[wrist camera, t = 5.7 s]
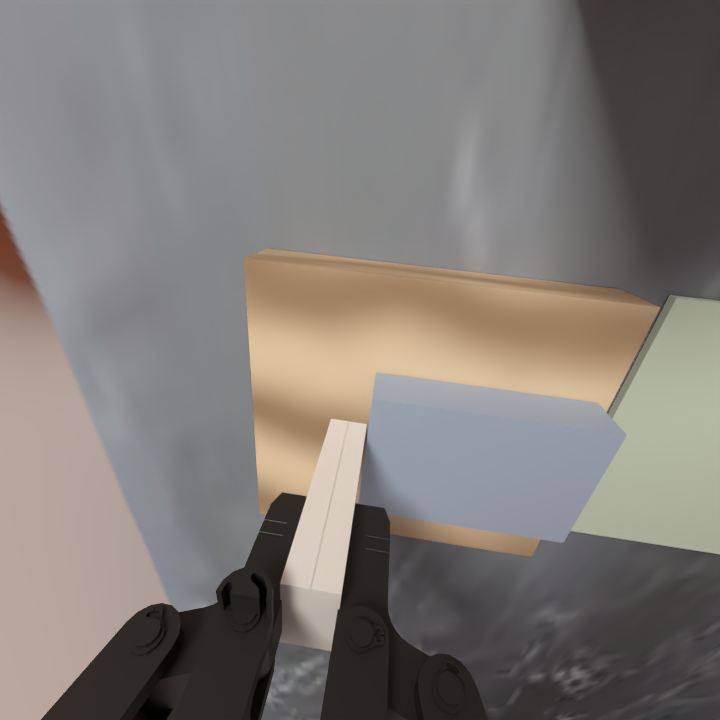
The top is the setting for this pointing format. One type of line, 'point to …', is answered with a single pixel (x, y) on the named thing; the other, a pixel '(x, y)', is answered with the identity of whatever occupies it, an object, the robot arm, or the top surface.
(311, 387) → the board
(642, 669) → the top surface
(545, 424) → the blue rectangular block
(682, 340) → the mat
